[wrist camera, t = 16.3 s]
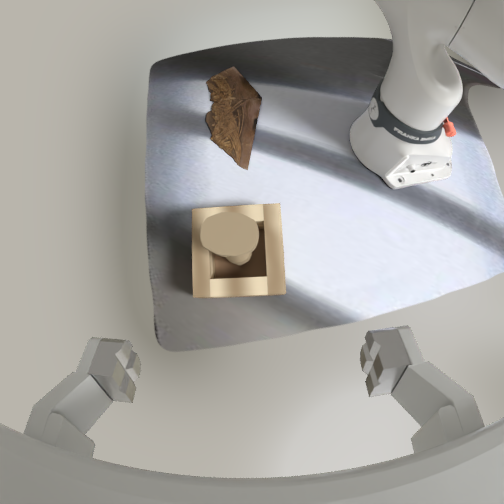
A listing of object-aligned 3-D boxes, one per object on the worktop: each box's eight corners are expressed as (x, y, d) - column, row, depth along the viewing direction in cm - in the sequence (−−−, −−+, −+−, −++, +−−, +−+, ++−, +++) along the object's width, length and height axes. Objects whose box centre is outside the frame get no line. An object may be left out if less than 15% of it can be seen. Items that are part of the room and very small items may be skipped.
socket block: (278, 214, 49) (280, 203, 43) (283, 294, 47) (285, 293, 41) (199, 219, 49) (192, 208, 44) (201, 298, 47) (193, 297, 42)
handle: (221, 239, 48) (202, 210, 33) (262, 241, 48) (260, 213, 33) (219, 269, 47) (198, 253, 33) (259, 272, 47) (257, 257, 32)
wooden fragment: (206, 71, 56) (205, 68, 55) (257, 66, 55) (257, 62, 54) (207, 174, 51) (206, 171, 50) (270, 168, 51) (270, 165, 50)
